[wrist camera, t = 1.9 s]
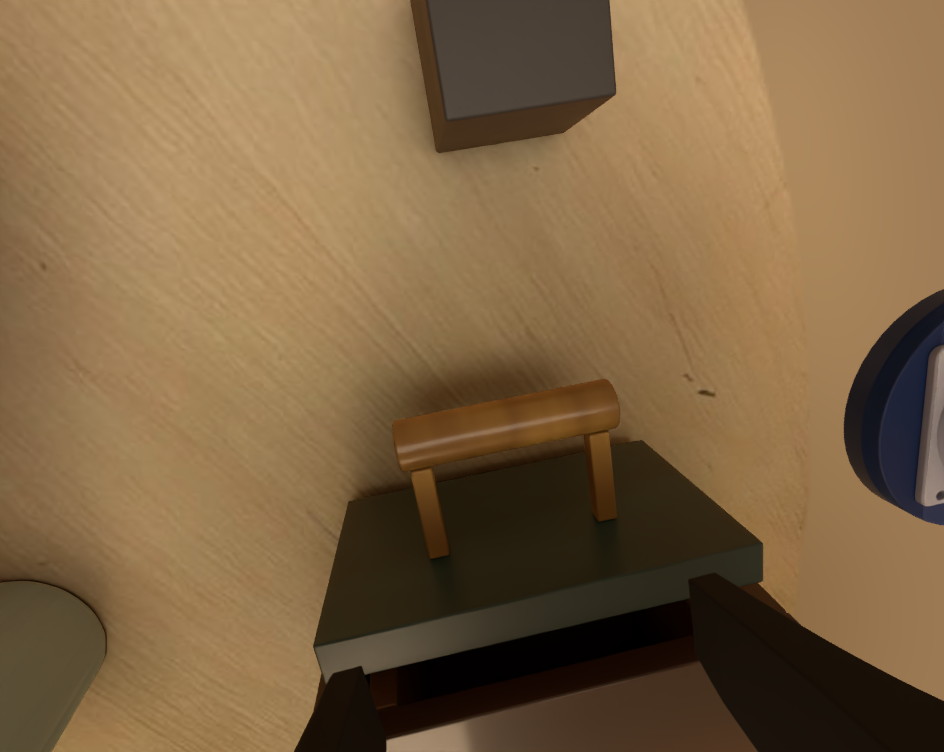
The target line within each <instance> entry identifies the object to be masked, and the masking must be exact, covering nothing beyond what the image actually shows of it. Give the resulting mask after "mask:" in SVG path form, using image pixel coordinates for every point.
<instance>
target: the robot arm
mask: <svg viewBox="0 0 944 752" xmlns="http://www.w3.org/2000/svg"><path fill="white" fill-rule="evenodd" d="M915 500H916V501H917V502H918V503H920V504H922V505H924V506H932V505H937V504H941V503H944V345H940V346H937V347H935V348H934V349H933V350H932V351H931V353H930V354H929V358H928V368H927V378H926V388H925V398H924V408H923V418H922V428H921V438H920V447H919V457H918V467H917V477H916V487H915ZM688 583H689V593H690V604H691V615H692V626H693V636H694V647H695V654H696V656H697V657H698V659H699V661H700V663H701V665H702V666H703V668H704V670H705V672H706V674H707V675H708V677H709V679H710V681H711V682H712V684H713V686H714V688H715V689H716V691H717V693H718V695H719V696H720V698H721V700H722V701H723V703H724V704H725V706H726V707H727V709H728V710H729V712H730V713H731V715H732V716H733V717H734V719H735V720H736V722H737V723H738V725H739V726H740V727H741V729H742V730H743V732H744V733H745V734H746V736H747V737H748V739H749V740H750V742H751V743H752V744H753V746H754V747H755V749H756V750H757V751H758V752H944V701H942V700H940V699H938V698H936V697H934V696H932V695H930V694H928V693H925V692H923V691H921V690H919V689H917V688H915V687H913V686H911V685H909V684H907V683H905V682H903V681H901V680H899V679H897V678H895V677H893V676H891V675H889V674H887V673H886V672H884V671H882V670H880V669H878V668H876V667H874V666H872V665H871V664H869V663H867V662H865V661H863V660H861V659H859V658H857V657H855V656H854V655H852V654H850V653H848V652H846V651H845V650H842V649H841V648H839V647H837V646H836V645H834V644H832V643H830V642H828V641H826V640H825V639H823V638H822V637H820V636H818V635H817V634H815V633H813V632H811V631H810V630H808V629H806V628H805V627H803V626H801V625H799V624H798V623H796V622H794V621H793V620H791V619H789V618H788V617H786V616H785V615H783V614H781V613H780V612H778V611H776V610H775V609H773V608H771V607H770V606H768V605H767V604H765V603H763V602H762V601H760V600H759V599H757V598H755V597H754V596H752V595H751V594H749V593H747V592H746V591H744V590H743V589H741V588H739V587H738V586H736V585H735V584H733V583H731V582H730V581H728V580H727V579H725V578H723V577H722V576H720V575H718V574H717V573H715V572H714V573H710V574H706V575H702V576H698V577H695V578H691V579H688ZM294 752H387V744H386V735H385V732H384V729H383V726H382V723H381V721H380V718H379V715H378V712H377V709H376V706H375V703H374V700H373V697H372V694H371V691H370V688H369V686H368V683H367V680H366V677H365V674H364V671H363V668H362V666H358V667H355V668H351V669H347V670H343V671H339V672H336V673H333V674H332V675H331V677H330V678H329V680H328V682H327V684H326V687H325V689H324V691H323V693H322V695H321V697H320V699H319V701H318V703H317V706H316V708H315V710H314V712H313V714H312V716H311V718H310V720H309V722H308V724H307V726H306V728H305V730H304V732H303V734H302V736H301V738H300V741H299V743H298V745H297V747H296V749H295V750H294Z"/></svg>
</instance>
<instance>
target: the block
mask: <svg viewBox="0 0 944 752" xmlns="http://www.w3.org/2000/svg"><path fill="white" fill-rule="evenodd" d="M411 7H412V13H413V18H414V24H415V30H416V36H417V42H418V47H419V53H420V59H421V65H422V71H423V76H424V82H425V88H426V94H427V100H428V106H429V111H430V117H431V123H432V129H433V135H434V140H435V146H436V151H437V152H438V153H442V152H448V151H454V150H460V149H467V148H473V147H479V146H485V145H491V144H498V143H504V142H510V141H516V140H522V139H529V138H535V137H541V136H547V135H553V134H560V133H564V132H565V131H567V130H568V129H569V128H571V127H572V126H573V125H575V124H576V123H578V122H579V121H580V120H582V119H583V118H584V117H586V116H587V115H589V114H590V113H591V112H593V111H594V110H595V109H597V108H598V107H599V106H601V105H602V104H604V103H605V102H606V101H608V100H609V99H610V98H612V97H613V96H615V94H616V83H615V70H614V56H613V43H612V29H611V16H610V2H609V0H411Z"/></svg>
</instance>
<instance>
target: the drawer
mask: <svg viewBox="0 0 944 752" xmlns="http://www.w3.org/2000/svg"><path fill="white" fill-rule="evenodd" d="M619 422H620V407H619V402H618V398H617V395H616V392H615V390H614V388H613V386H612V384H611V383H610V382H609V381H608V380H607V379H601V380H595V381H590V382H585V383H580V384H575V385H570V386H565V387H560V388H555V389H550V390H545V391H540V392H535V393H530V394H525V395H520V396H515V397H510V398H505V399H500V400H495V401H490V402H485V403H480V404H475V405H470V406H465V407H460V408H455V409H450V410H445V411H440V412H435V413H430V414H425V415H420V416H415V417H410V418H405V419H400V420H395V421H393V424H392V430H393V439H394V445H395V451H396V455H397V460H398V463H399V466H400V469H401V470H402V471H403V472H405V471H410V475H411V479H412V483H413V488H410V489H405V490H400V491H396V492H391V493H386V494H381V495H377V496H372V497H367V498H362V499H357V500H353V501H349V502H348V506H347V510H346V514H345V518H344V522H343V526H342V530H341V534H340V538H339V542H338V546H337V551H336V555H335V559H334V563H333V567H332V571H331V575H330V579H329V583H328V587H327V592H326V596H325V600H324V604H323V608H322V612H321V616H320V620H319V624H318V628H317V632H316V637H315V641H314V645H313V648H314V651H315V654H316V657H317V660H318V663H319V666H320V669H321V672H322V676H323V679H324V682H325V684H327V682H328V680H329V678H330V677H331V675H332V674H333V673H336V672H339V671H343V670H347V669H351V668H355V667H358V666H362V668H363V671H364V674H365V675H367V674H370V684H369V688H370V691H371V694H372V697H373V700H374V703H375V706H376V709H377V711H380V710H385V709H389V708H393V707H397V706H401V705H405V704H409V703H414V702H418V701H422V700H426V699H430V698H434V697H439V696H443V695H447V694H451V693H455V692H459V691H463V690H468V689H472V688H476V687H480V686H484V685H488V684H493V683H497V682H501V681H505V680H509V679H513V678H517V677H522V676H526V675H530V674H534V673H538V672H542V671H547V670H551V669H555V668H559V667H563V666H567V665H571V664H576V663H580V662H584V661H588V660H592V659H596V658H600V657H605V656H609V655H613V654H617V653H621V652H625V651H630V650H634V649H638V648H642V647H646V646H650V645H654V644H659V643H663V642H667V641H671V640H675V639H679V638H684V637H688V636H692V635H693V626H692V615H691V604H690V593H689V583H688V579H691V578H695V577H698V576H702V575H706V574H710V573H714V572H715V573H717V574H718V575H720V576H722V577H723V578H725V579H727V580H728V581H730V582H731V583H733V584H735V585H736V586H738V587H741V586H745V585H750V584H754V583H758V582H762V581H763V543H762V542H761V541H760V540H759V539H758V538H756V537H755V536H754V535H753V534H752V533H750V532H749V531H748V530H747V529H746V528H745V527H743V526H742V525H741V524H740V523H739V522H738V521H736V520H735V519H734V518H733V517H732V516H731V515H729V514H728V513H727V512H726V511H725V510H723V509H722V508H721V507H720V506H719V505H718V504H716V503H715V502H714V501H713V500H712V499H711V498H709V497H708V496H707V495H706V494H705V493H704V492H702V491H701V490H700V489H699V488H698V487H696V486H695V485H694V484H693V483H692V482H691V481H689V480H688V479H687V478H686V477H685V476H684V475H682V474H681V473H680V472H679V471H678V470H677V469H675V468H674V467H673V466H672V465H671V464H669V463H668V462H667V461H666V460H665V459H664V458H662V457H661V456H660V455H659V454H658V453H657V452H655V451H654V450H653V449H652V448H651V447H650V446H648V445H647V444H646V443H645V442H644V441H642V440H639V441H634V442H630V443H625V444H620V445H615V446H610V437H609V432H608V431H607V430H608V429H613V428H616V427H617V426H618V425H619ZM579 435H583V437H584V446H585V452H582V453H577V454H572V455H568V456H563V457H558V458H553V459H548V460H544V461H539V462H534V463H529V464H525V465H520V466H515V467H510V468H505V469H501V470H496V471H491V472H486V473H482V474H477V475H472V476H467V477H463V478H458V479H453V480H448V481H443V482H439V483H436V481H435V476H434V471H433V467H432V466H434V465H439V464H444V463H449V462H454V461H459V460H463V459H468V458H473V457H478V456H483V455H488V454H492V453H497V452H502V451H507V450H512V449H517V448H521V447H526V446H531V445H536V444H541V443H546V442H550V441H555V440H560V439H565V438H570V437H575V436H579Z"/></svg>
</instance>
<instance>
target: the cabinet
mask: <svg viewBox="0 0 944 752" xmlns="http://www.w3.org/2000/svg"><path fill="white" fill-rule="evenodd" d="M739 588H741V589H743V590H744V591H746V592H747V593H749V594H751V595H752V596H754V597H755V598H757V599H759V600H760V601H762V602H763V603H765V604H767V605H768V606H770V607H771V608H773V609H775V610H776V611H778V612H780V613H781V614H783V615H785V616H786V617H788V618H789V619H791V620H793V621H794V622H796V623H798V622H797V621H796V620H795V619H794V618H793V617H792V616H791V615H790V614H789V613H786V611H785V609H784V608H782V607H781V606H780V605H779V604H778V603H777V602H776V601H775V600H774V599H773V598H772V597H771V596H770V595H769V594H768V593H767V592H766V591H765V590H764V589H763V588H762V587H761V586H760V585H759V584H758V583H754V584H750V585H745V586H741V587H739ZM798 624H799V623H798ZM799 625H800V624H799ZM365 677H366V680H367V683H368V686H369V684H370V674H367V675H365ZM325 687H326V684H325V682H324V679H323V676H322V673H321V678H320V683H319V688H318V693H317V697H316V702H315V707H314V710H315V708H316V706H317V703H318V701H319V699H320V697H321V695H322V693H323V691H324V689H325ZM377 712H378V715H379V718H380V721H381V723H382V726H383V729H384V732H385V735H386V744H387V752H758V751H757V750H756V749H755V747H754V746H753V744H752V743H751V742H750V740H749V739H748V737H747V736H746V734H745V733H744V732H743V730H742V729H741V727H740V726H739V725H738V723H737V722H736V720H735V719H734V717H733V716H732V715H731V713H730V712H729V710H728V709H727V707H726V706H725V704H724V703H723V701H722V700H721V698H720V696H719V695H718V693H717V691H716V689H715V688H714V686H713V684H712V682H711V681H710V679H709V677H708V675H707V674H706V672H705V670H704V668H703V666H702V665H701V663H700V661H699V659H698V657H697V656H696V654H695V647H694V636H693V635H692V636H688V637H684V638H679V639H675V640H671V641H667V642H663V643H659V644H654V645H650V646H646V647H642V648H638V649H634V650H630V651H625V652H621V653H617V654H613V655H609V656H605V657H600V658H596V659H592V660H588V661H584V662H580V663H576V664H571V665H567V666H563V667H559V668H555V669H551V670H547V671H542V672H538V673H534V674H530V675H526V676H522V677H517V678H513V679H509V680H505V681H501V682H497V683H493V684H488V685H484V686H480V687H476V688H472V689H468V690H463V691H459V692H455V693H451V694H447V695H443V696H439V697H434V698H430V699H426V700H422V701H418V702H414V703H409V704H405V705H401V706H397V707H393V708H389V709H385V710H380V711H377Z"/></svg>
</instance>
